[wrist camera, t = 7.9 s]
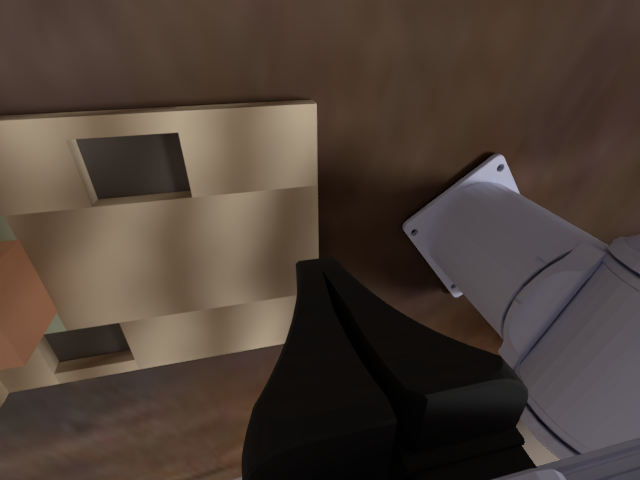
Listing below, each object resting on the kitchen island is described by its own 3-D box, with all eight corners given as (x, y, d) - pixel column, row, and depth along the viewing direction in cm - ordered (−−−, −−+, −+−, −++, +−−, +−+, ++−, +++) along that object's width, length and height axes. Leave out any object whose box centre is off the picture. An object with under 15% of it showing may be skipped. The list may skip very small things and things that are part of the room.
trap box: (311, 99, 19) (325, 111, 16) (316, 325, 28) (326, 357, 25) (-198, 125, 15) (-289, 147, 12) (-2, 381, 24) (-31, 425, 21)
